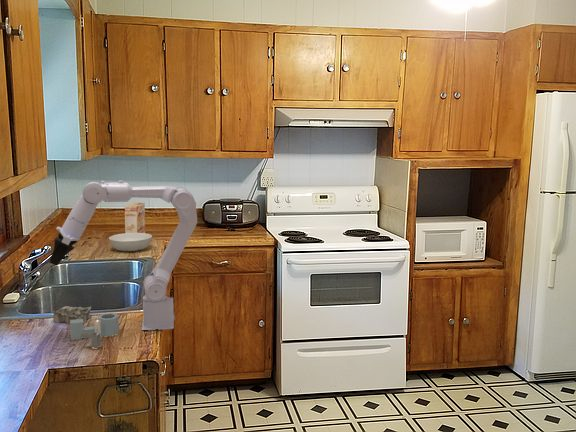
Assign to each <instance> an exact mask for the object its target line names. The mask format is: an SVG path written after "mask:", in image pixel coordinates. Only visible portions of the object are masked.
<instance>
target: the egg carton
mask: <svg viewBox="0 0 576 432" xmlns="http://www.w3.org/2000/svg"><path fill="white" fill-rule="evenodd" d="M91 309H92V306H89V307H87V306H86V307H82V306H79V307H76V306H75V307H74V306H69V305H68V306H67V305H65V306H63V307H61V308H59V309H58V310H56V311H55V310H51V313H52V314H53V322H54V323H55V324H57V323H58V324H60V323H65V324H70V320H76V319H83V323H86V322H87V320H89V319H91Z"/></svg>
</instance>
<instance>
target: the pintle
mask: <svg viewBox="0 0 576 432" xmlns="http://www.w3.org/2000/svg"><path fill="white" fill-rule="evenodd" d="M93 326H94V333H98V334H100V340H101V341H102V336H101V320H100V319H98V318H97V319H93Z"/></svg>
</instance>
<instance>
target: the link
mask: <svg viewBox="0 0 576 432" xmlns="http://www.w3.org/2000/svg"><path fill="white" fill-rule="evenodd" d="M118 315H119V314H118V313H116V312H115V313H114V312H108V313H102V314H100V315H98V318H97V319H100V320H101V337H102V336H112V335H115V334H117V333H119V332H120V331H119V329H120V328H119V316H118ZM69 325H70V338H71V339H70V340H71V341H74V340H73V339H76V340H81V338H84V339H86V338H85V337H81V333H83V332H87V333H94V325H93V326H84V322H83V319H76V320H70V323H69ZM119 334H120V333H119ZM117 335H118V334H117ZM115 336H116V335H115ZM112 337H113V336H112Z"/></svg>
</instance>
